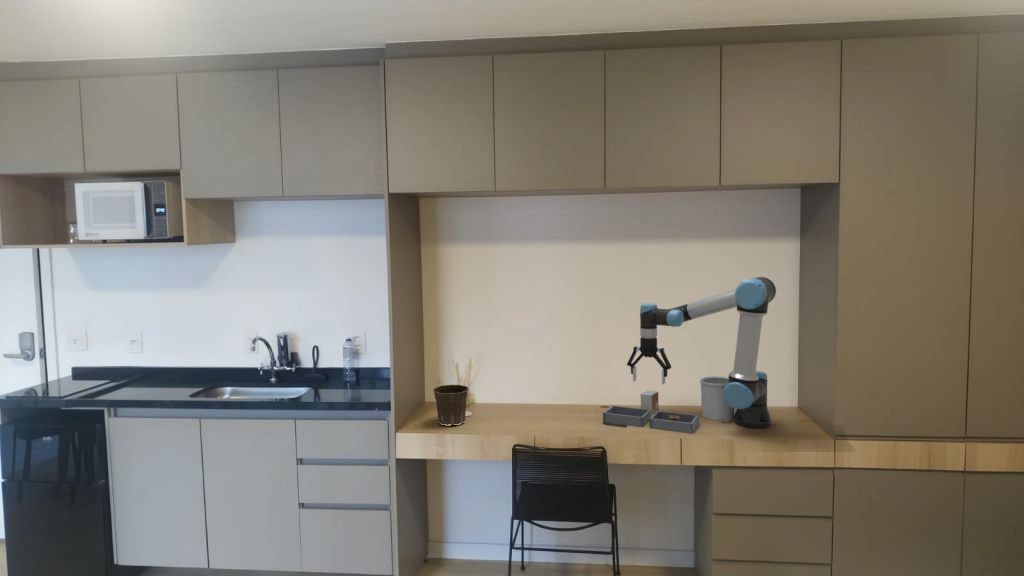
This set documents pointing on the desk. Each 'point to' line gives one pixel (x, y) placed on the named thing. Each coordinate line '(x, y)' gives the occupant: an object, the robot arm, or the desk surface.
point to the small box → (650, 401)
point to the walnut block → (674, 418)
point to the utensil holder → (715, 399)
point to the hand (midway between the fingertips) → (648, 382)
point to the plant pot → (451, 403)
